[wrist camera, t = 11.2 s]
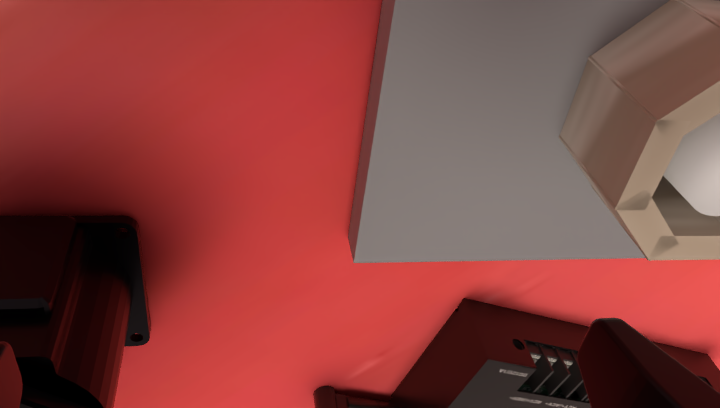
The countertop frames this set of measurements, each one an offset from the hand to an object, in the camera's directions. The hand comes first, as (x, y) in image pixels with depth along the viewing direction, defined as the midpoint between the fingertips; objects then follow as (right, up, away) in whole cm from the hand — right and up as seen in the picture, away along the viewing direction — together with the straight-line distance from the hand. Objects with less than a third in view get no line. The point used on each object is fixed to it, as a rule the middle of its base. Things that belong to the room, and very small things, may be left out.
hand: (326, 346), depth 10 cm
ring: (+11, +6, +11) cm, 17 cm away
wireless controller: (+8, -7, +23) cm, 26 cm away
